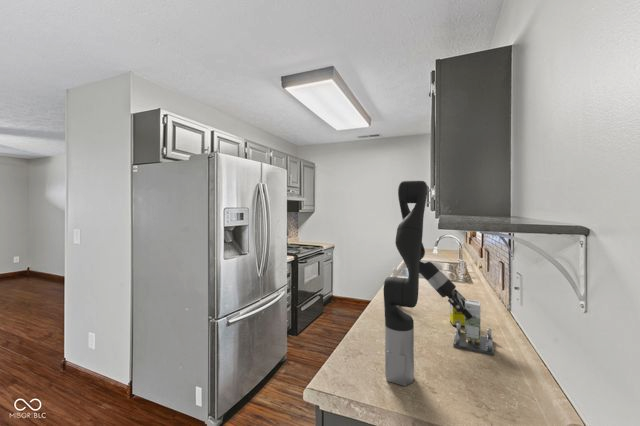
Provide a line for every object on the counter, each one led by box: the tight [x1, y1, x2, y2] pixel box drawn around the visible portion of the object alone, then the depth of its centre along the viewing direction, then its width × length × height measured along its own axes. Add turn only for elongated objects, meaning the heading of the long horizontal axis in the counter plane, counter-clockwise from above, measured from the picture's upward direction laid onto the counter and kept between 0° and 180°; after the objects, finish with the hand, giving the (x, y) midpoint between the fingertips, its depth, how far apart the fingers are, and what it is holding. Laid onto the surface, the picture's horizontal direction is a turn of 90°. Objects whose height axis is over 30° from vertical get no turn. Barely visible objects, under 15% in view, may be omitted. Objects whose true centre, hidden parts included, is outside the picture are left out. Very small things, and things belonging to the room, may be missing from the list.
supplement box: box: [449, 303, 465, 328], centre depth 137 cm, size 6×6×11 cm
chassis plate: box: [452, 323, 495, 356], centre depth 117 cm, size 14×14×5 cm
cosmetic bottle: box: [391, 267, 400, 308], centre depth 165 cm, size 6×6×22 cm
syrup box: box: [464, 298, 482, 340], centre depth 117 cm, size 6×6×14 cm
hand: (471, 314), depth 117 cm, fingers open, 8 cm apart
